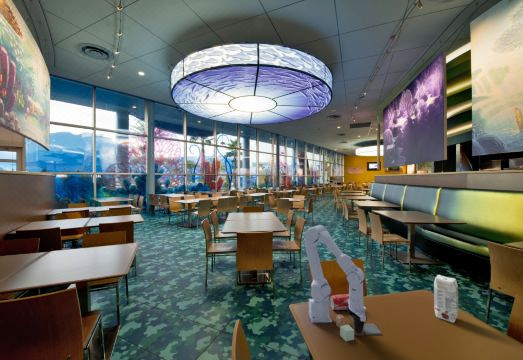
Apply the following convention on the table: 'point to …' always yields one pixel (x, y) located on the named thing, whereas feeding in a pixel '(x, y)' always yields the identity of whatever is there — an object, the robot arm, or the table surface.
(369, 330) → the slate coaster
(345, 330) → the pale green cube
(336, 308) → the soda can
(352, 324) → the walnut block
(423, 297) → the table surface
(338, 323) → the pinkish brown rounded cylinder
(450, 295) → the white food bag
